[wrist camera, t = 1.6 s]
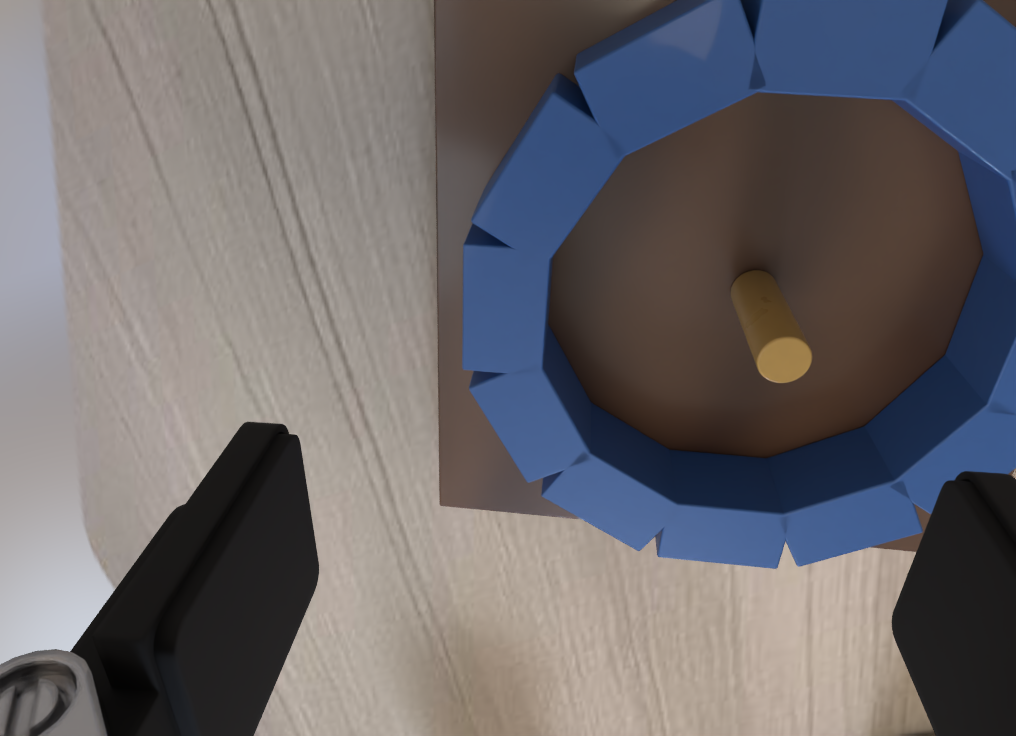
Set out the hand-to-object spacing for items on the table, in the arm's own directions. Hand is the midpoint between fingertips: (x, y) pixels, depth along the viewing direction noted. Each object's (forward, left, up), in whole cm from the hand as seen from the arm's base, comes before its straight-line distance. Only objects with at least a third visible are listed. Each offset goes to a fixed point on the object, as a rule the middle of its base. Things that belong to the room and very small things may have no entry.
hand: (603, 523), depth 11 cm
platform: (+5, -2, -16) cm, 16 cm away
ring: (+5, -2, -12) cm, 13 cm away
